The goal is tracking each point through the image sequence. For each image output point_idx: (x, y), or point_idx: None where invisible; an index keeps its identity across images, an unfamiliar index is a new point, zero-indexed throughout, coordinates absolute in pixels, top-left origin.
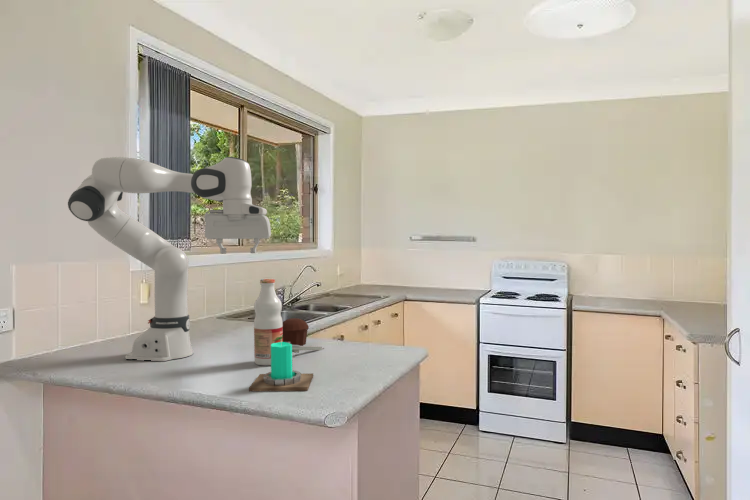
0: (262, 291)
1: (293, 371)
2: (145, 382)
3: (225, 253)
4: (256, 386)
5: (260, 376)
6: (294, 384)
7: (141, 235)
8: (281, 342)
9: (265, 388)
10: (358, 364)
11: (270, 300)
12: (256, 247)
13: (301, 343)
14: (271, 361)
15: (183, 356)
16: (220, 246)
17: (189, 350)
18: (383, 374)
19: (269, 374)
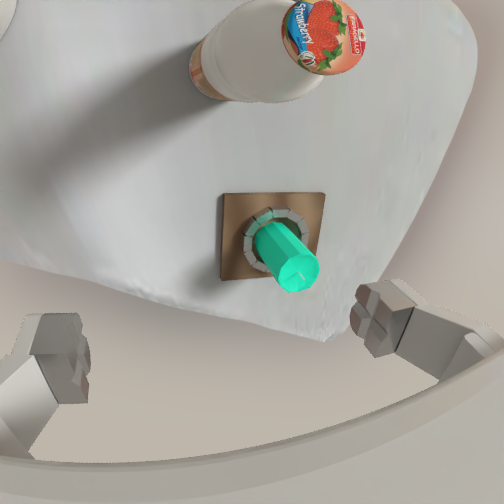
0: (279, 67)
1: (295, 220)
2: (13, 236)
3: (80, 329)
4: (233, 274)
5: (228, 213)
6: None
7: None
8: (301, 276)
9: (248, 277)
10: (397, 115)
11: (300, 92)
12: (429, 309)
13: None
14: (267, 265)
15: (1, 35)
16: (39, 419)
17: (6, 11)
18: (416, 185)
19: (252, 236)
